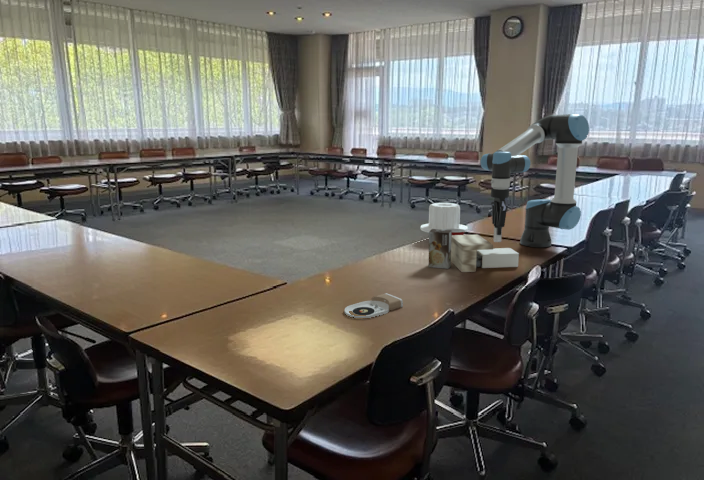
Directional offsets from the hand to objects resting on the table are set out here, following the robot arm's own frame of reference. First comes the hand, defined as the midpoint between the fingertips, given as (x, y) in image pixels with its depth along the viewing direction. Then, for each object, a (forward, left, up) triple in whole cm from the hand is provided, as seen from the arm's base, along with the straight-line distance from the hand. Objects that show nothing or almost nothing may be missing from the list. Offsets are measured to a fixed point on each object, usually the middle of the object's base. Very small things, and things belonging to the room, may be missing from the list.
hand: (497, 241), depth 222 cm
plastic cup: (+14, -21, -11) cm, 27 cm away
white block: (0, 0, -10) cm, 10 cm away
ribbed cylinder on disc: (+10, -51, -11) cm, 53 cm away
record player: (+62, +49, -11) cm, 80 cm away
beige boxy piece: (+13, 0, -10) cm, 16 cm away
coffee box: (+26, 0, -11) cm, 28 cm away
